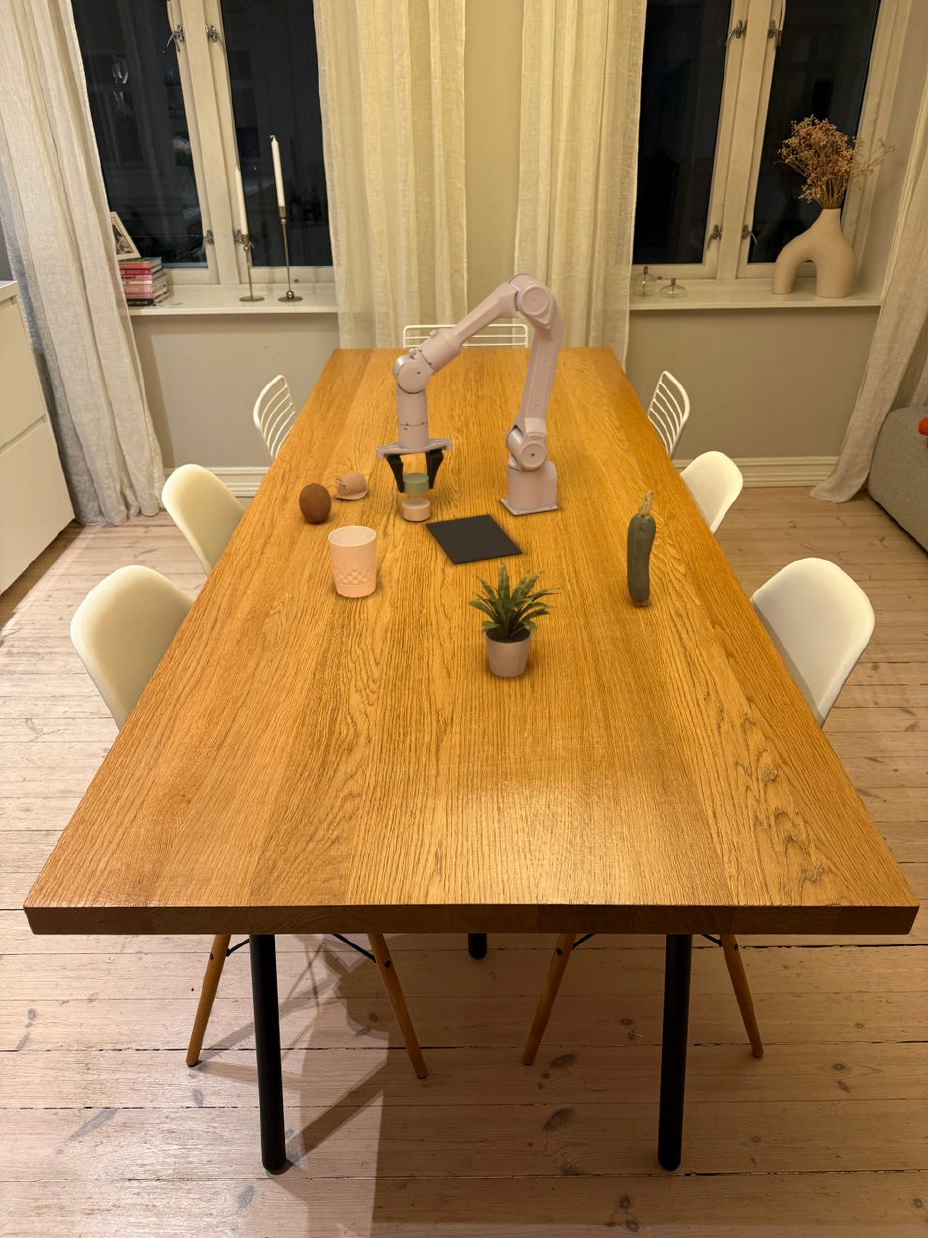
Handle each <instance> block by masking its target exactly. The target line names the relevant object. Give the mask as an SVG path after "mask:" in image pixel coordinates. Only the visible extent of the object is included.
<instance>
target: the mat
mask: <svg viewBox="0 0 928 1238" xmlns="http://www.w3.org/2000/svg"><path fill="white" fill-rule="evenodd" d="M425 527H426V528H427V529H428V531H429V532H430V533H431V535H432V536H433V538H434V539H435V540H436V542H437V543H438V544H439V546H440V548H441V549H442V550H443V552H444V553H445V554H446V555H447V557H448V559H449V560H450V561H451V563H453V565H461V564H467V563H474V562H480V561H487V560H491V559H492V560H493V559H499V558H506V557H511V556H516V555H522V554H523V551H522V550H521V549H520V547H519V546H518V545H517V544H516V543H515V542H514V540H512V539H511V537H509V535H508V534H507V533H506V532H505V530H504V529H503V528H502V527H501V526H500V525H499V524H498V522H496V521H495V520H494V518H493V517H492V516H491V515H490V514H489V513H487V514H481V515H475V516H468V517H461V518H453V519H448V520H441V521H433V522H427V523H425Z"/></svg>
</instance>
